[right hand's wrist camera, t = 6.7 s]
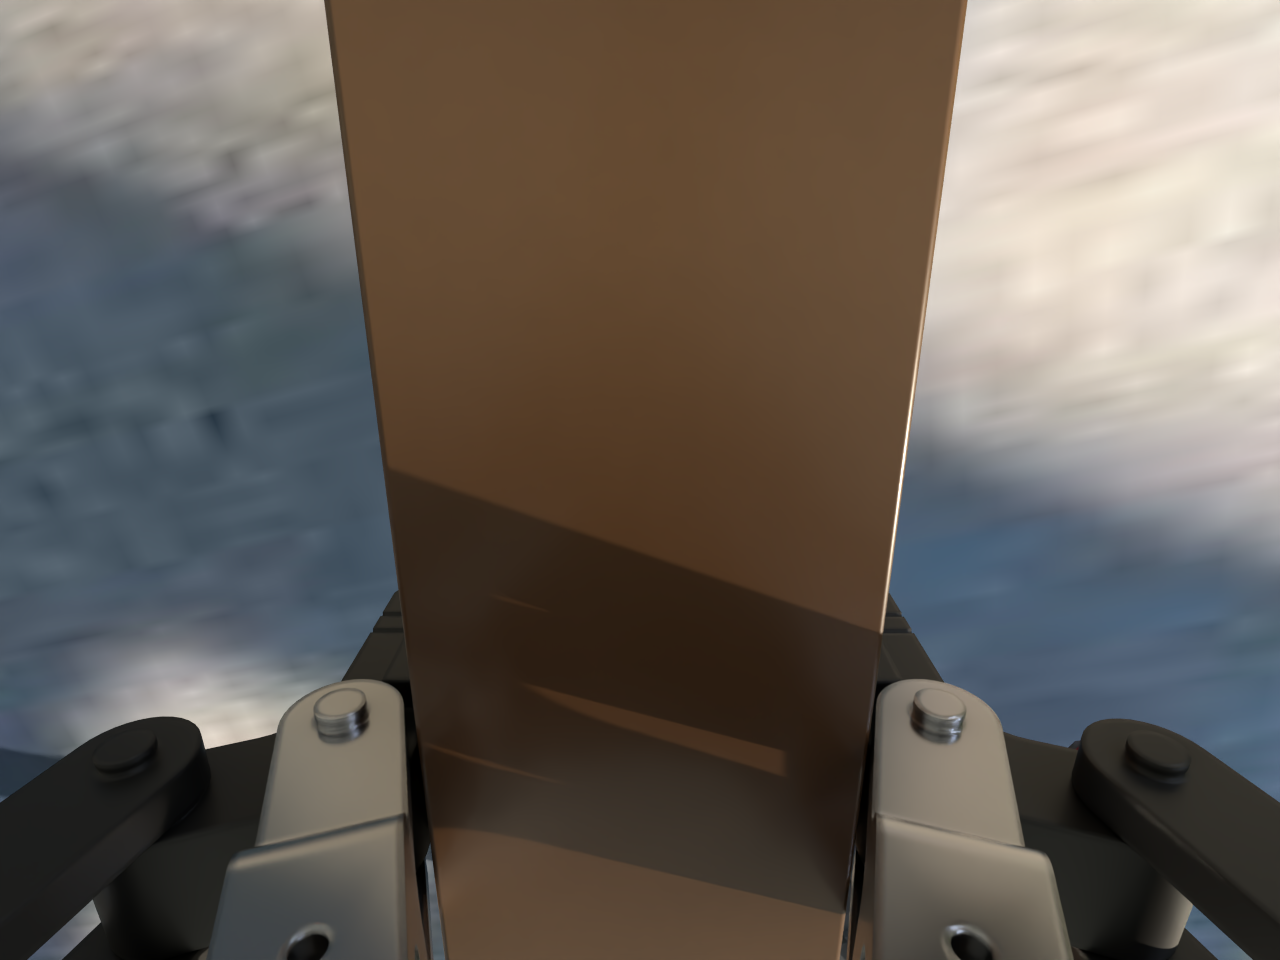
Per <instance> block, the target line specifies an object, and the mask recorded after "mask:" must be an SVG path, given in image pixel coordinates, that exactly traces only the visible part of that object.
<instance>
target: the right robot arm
mask: <svg viewBox="0 0 1280 960" xmlns="http://www.w3.org/2000/svg"><path fill="white" fill-rule="evenodd" d="M429 845H430V835H429V827H428V819H427V811H426V804H425V796H424V788H423V780H422V772H421V764H420V756H419V748H418V740H417V732H416V724H415V716H414V708H413V700H412V693H411V685H410V677H409V669H408V661H407V653H406V645H405V637H404V629H403V621H402V613H401V605H400V597H399V590H398V591H396V592H395V593H394V595H393V596H392V598H391V600H390V601H389V603H388V605H387V606H386V608H385V610H384V611H383V616H380V618H379V619H378V621H377V623H376V624H375V626H374V628H373V633H370V634H369V636H368V638H367V639H366V641H365V643H364V644H363V646H362V648H361V649H360V651H359V653H358V654H357V656H356V658H355V659H354V661H353V663H352V664H351V666H350V667H349V669H348V671H347V672H346V674H345V676H344V677H343V679H342V681H341V682H337V683H333V684H330V685H327V686H324V687H321V688H319V689H317V690H314V691H312V692H311V693H309V694H307V695H305V696H304V697H302V698H301V699H299V700H298V701H296V702H295V703H294V704H293V705H292V706H291V707H290V708H289V709H288V710H287V711H286V712H285V713H284V715H283V717H282V718H281V720H280V722H279V725H278V729H277V733H275V734H272V735H268V736H264V737H261V738H256V739H252V740H247V741H243V742H238V743H233V744H229V745H224V746H219V747H215V748H210V749H205V747H204V743H203V739H202V736H201V733H200V730H199V728H198V727H197V726H196V725H195V724H194V723H192V722H191V721H189V720H186V719H183V718H178V717H153V718H147V719H141V720H137V721H133V722H130V723H126V724H124V725H121V726H118V727H115V728H113V729H110V730H108V731H106V732H104V733H102V734H100V735H98V736H96V737H94V738H92V739H90V740H89V741H87V742H86V743H84V744H83V745H81V746H80V747H78V748H77V749H75V750H74V751H72V752H71V753H70V754H68V755H67V756H65V757H64V758H63V759H61V760H60V761H58V762H57V763H56V764H54V765H53V766H51V767H50V768H49V769H47V770H46V771H44V772H43V773H41V774H40V775H39V776H37V777H36V778H34V779H33V780H32V781H30V782H29V783H27V784H26V785H25V786H23V787H22V788H20V789H19V790H17V791H16V792H15V793H13V794H12V795H10V796H9V797H8V798H6V799H5V800H3V801H2V802H1V803H0V960H27V959H28V958H29V957H30V956H32V955H33V954H34V953H35V952H36V951H37V950H38V949H39V948H40V947H41V946H42V945H43V944H45V943H46V942H47V941H48V940H49V939H50V938H51V937H52V936H53V935H54V934H55V933H57V932H58V931H59V930H60V929H61V928H62V927H63V926H64V925H65V924H66V923H67V922H69V921H70V920H71V919H72V918H73V917H74V916H75V915H76V914H77V913H78V912H79V911H81V910H82V909H83V908H84V907H85V906H86V905H87V904H88V903H89V902H90V901H91V900H92V899H93V901H94V904H95V907H96V910H97V912H98V915H99V918H100V920H101V923H100V924H99V925H98V926H97V927H96V928H95V929H94V930H92V931H91V932H90V933H89V934H88V935H87V936H86V937H85V938H84V939H83V940H82V941H81V942H80V943H79V944H78V945H77V946H76V947H75V948H74V949H73V950H72V951H71V952H70V953H68V954H67V955H66V956H65V957H64V958H63V959H62V960H433V945H432V930H431V915H430V900H429V885H428V872H427V865H426V858H425V856H426V854H427V851H428V848H429ZM855 845H856V850H855V857H854V864H853V871H852V883H851V898H850V913H849V928H848V943H847V958H846V960H1218V959H1217V958H1216V957H1215V956H1214V955H1213V954H1212V953H1210V952H1209V951H1208V950H1207V949H1206V948H1205V947H1204V946H1203V945H1202V944H1201V943H1200V942H1199V941H1198V940H1197V939H1196V938H1195V937H1194V936H1193V935H1192V934H1191V933H1190V932H1189V931H1188V930H1186V929H1185V928H1184V927H1185V925H1186V922H1187V920H1188V917H1189V914H1190V912H1191V909H1192V906H1193V905H1194V906H1195V907H1196V908H1197V909H1198V910H1200V911H1201V912H1202V913H1203V914H1204V915H1205V916H1206V917H1207V918H1208V919H1209V920H1210V921H1211V922H1213V923H1214V924H1215V925H1216V926H1217V927H1218V928H1219V929H1220V930H1221V931H1222V932H1223V933H1225V934H1226V935H1227V936H1228V937H1229V938H1230V939H1231V940H1232V941H1233V942H1234V943H1235V944H1237V945H1238V946H1239V947H1240V948H1241V949H1242V950H1243V951H1244V952H1245V953H1246V954H1247V955H1248V956H1250V957H1251V958H1252V959H1253V960H1280V803H1279V802H1278V801H1277V800H1275V799H1274V798H1272V797H1271V796H1270V795H1268V794H1267V793H1265V792H1264V791H1263V790H1261V789H1260V788H1258V787H1257V786H1255V785H1254V784H1253V783H1251V782H1250V781H1248V780H1247V779H1246V778H1244V777H1243V776H1241V775H1240V774H1239V773H1237V772H1236V771H1234V770H1233V769H1232V768H1230V767H1229V766H1227V765H1226V764H1224V763H1223V762H1222V761H1220V760H1219V759H1217V758H1216V757H1215V756H1213V755H1212V754H1210V753H1209V752H1208V751H1206V750H1205V749H1203V748H1202V747H1200V746H1199V745H1197V744H1196V743H1194V742H1192V741H1190V740H1189V739H1187V738H1185V737H1183V736H1181V735H1179V734H1177V733H1174V732H1172V731H1170V730H1167V729H1165V728H1162V727H1159V726H1156V725H1153V724H1149V723H1145V722H1141V721H1136V720H1129V719H1106V720H1100V721H1097V722H1094V723H1092V724H1091V725H1089V726H1088V727H1087V728H1086V729H1085V730H1084V732H1083V734H1082V737H1081V741H1080V744H1079V748H1078V750H1076V749H1071V748H1066V747H1062V746H1057V745H1052V744H1048V743H1043V742H1038V741H1034V740H1029V739H1025V738H1021V737H1017V736H1014V735H1011V734H1008V733H1005V732H1003V729H1002V726H1001V723H1000V720H999V718H998V717H997V715H996V714H995V712H994V711H993V710H992V709H991V708H990V707H989V706H988V705H987V704H986V703H985V702H983V701H982V700H981V699H979V698H978V697H976V696H975V695H973V694H971V693H969V692H967V691H966V690H963V689H961V688H959V687H956V686H953V685H950V684H947V683H944V681H943V680H942V678H941V676H940V675H939V673H938V672H937V670H936V668H935V667H934V665H933V663H932V662H931V660H930V659H929V657H928V655H927V654H926V652H925V650H924V649H923V647H922V646H921V644H920V642H919V641H918V639H917V637H916V636H915V634H914V633H912V632H911V628H910V626H909V624H908V623H907V621H906V619H905V618H904V617H902V616H901V611H900V610H899V608H898V606H897V605H896V603H895V602H894V600H893V598H892V597H891V595H890V593H888V600H887V608H886V615H885V623H884V630H883V638H882V645H881V653H880V660H879V668H878V675H877V683H876V690H875V698H874V705H873V712H872V720H871V727H870V735H869V742H868V750H867V757H866V765H865V772H864V780H863V787H862V795H861V802H860V810H859V817H858V825H857V832H856V840H855Z"/></svg>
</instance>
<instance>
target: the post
mask: <svg viewBox="0 0 1280 960" xmlns="http://www.w3.org/2000/svg"><path fill="white" fill-rule="evenodd" d="M967 1H968V0H324V3H325V11H326V19H327V27H328V35H329V42H330V50H331V58H332V66H333V74H334V82H335V90H336V98H337V106H338V114H339V122H340V130H341V138H342V146H343V153H344V161H345V169H346V177H347V185H348V193H349V201H350V209H351V217H352V225H353V233H354V241H355V249H356V257H357V264H358V272H359V280H360V288H361V296H362V304H363V312H364V320H365V328H366V336H367V344H368V352H369V360H370V368H371V375H372V383H373V391H374V399H375V407H376V415H377V423H378V431H379V439H380V447H381V455H382V463H383V471H384V478H385V486H386V494H387V502H388V510H389V518H390V526H391V534H392V542H393V550H394V558H395V566H396V574H397V582H398V589H399V597H400V605H401V613H402V621H403V629H404V637H405V645H406V653H407V661H408V669H409V677H410V685H411V693H412V700H413V708H414V716H415V724H416V732H417V740H418V748H419V756H420V764H421V772H422V780H423V788H424V796H425V804H426V811H427V819H428V827H429V835H430V843H431V851H432V859H433V867H434V875H435V883H436V891H437V899H438V907H439V915H440V922H441V930H442V938H443V946H444V954H445V960H840V952H841V945H842V937H843V930H844V922H845V915H846V907H847V900H848V892H849V885H850V877H851V870H852V862H853V855H854V847H855V840H856V832H857V825H858V817H859V810H860V802H861V795H862V787H863V780H864V772H865V765H866V757H867V750H868V742H869V735H870V727H871V720H872V712H873V705H874V698H875V690H876V683H877V675H878V668H879V660H880V653H881V645H882V638H883V630H884V623H885V615H886V608H887V600H888V593H889V585H890V578H891V570H892V563H893V555H894V548H895V540H896V533H897V525H898V518H899V510H900V503H901V495H902V488H903V480H904V473H905V465H906V458H907V450H908V443H909V435H910V428H911V420H912V413H913V405H914V398H915V390H916V383H917V375H918V368H919V360H920V353H921V345H922V338H923V330H924V323H925V315H926V308H927V300H928V293H929V286H930V278H931V271H932V263H933V256H934V248H935V241H936V233H937V226H938V218H939V211H940V203H941V196H942V188H943V181H944V173H945V166H946V158H947V151H948V143H949V136H950V128H951V121H952V113H953V106H954V98H955V91H956V83H957V76H958V68H959V61H960V53H961V46H962V38H963V31H964V23H965V16H966V8H967Z"/></svg>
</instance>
